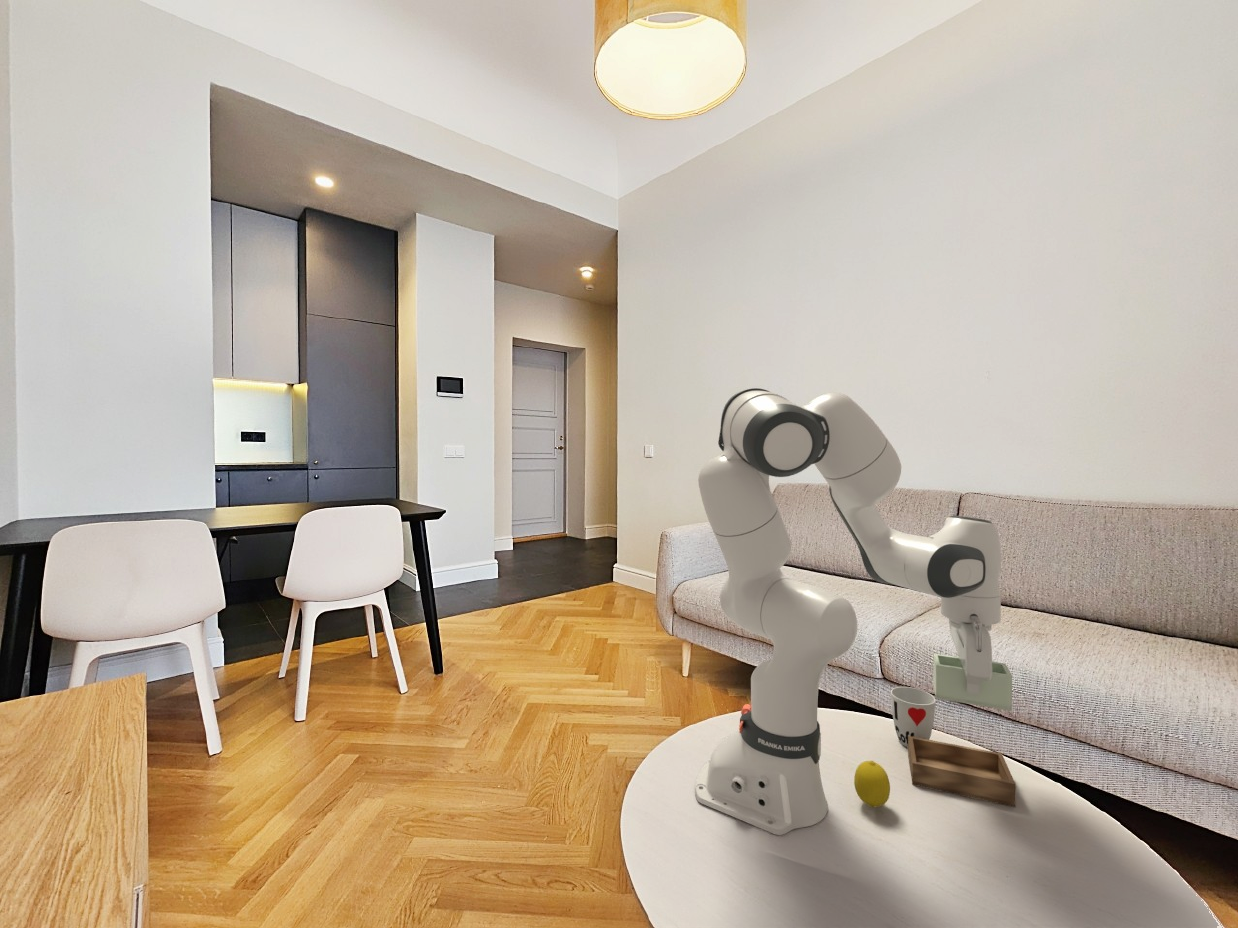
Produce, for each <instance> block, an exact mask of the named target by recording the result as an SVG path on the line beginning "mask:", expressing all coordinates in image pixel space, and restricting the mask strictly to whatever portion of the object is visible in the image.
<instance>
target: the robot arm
mask: <svg viewBox="0 0 1238 928" xmlns="http://www.w3.org/2000/svg"><path fill="white" fill-rule="evenodd" d="M719 430H720V431H719V437H718V447H719V448H720V450H721V451H722V452H721V453H720V454H719V455H717V456H715V457H712V458H711V459H710V460H709V461H707V462H706V463H705V464H704V465H703V466H702V468H701V469H700V471H699V473H698V477H697V479H698V481H697V482H698V487H699V493H700V497H701V501H702V504H703V508H704V511H705V514H706V517H707V519H708V522H709V525H710V527H711V530H712V532H713V534H714V536H715V538H716V542H717V543H718V546H719V548H720V550H721V553H722V555H723V558H724V560H725V562H726V567H727V569H728V577H727V578H726V580H725V581H724V583H723V585H722V588H721V590H720V597H719V600H720V608H721V611H722V612H723V614H724V615H725V617H726V618H727V619H729V620H730V621H732V622H733V623H734V624H735V625H736V626H739V627H740V628H741V629H743V630H744V631H746V632H749V633H752V634H754V635H756V636H760V637H762V638H765V639H767V640H769V641H771V642H772V645H773V652H772V657H771V658H770V659H767V660H765V661H762V662H761V663H760V664H758V666H756V667H755V668H754V670H753V672H752V674H751V677H750V704H749V703H746V704H744V705H743V706H742V709H741V711H740V715H741V716H740V718H739V724H738V727H739V728H738V731H736V732H735V733H732V734H730V735H729V736H726V737H724V738H722V739H721V740H720V741H719V742H718V743H717V744H716V746H715V748H714V749H713V751H712V754H711V755H710V759H709V760H708V761H707V762H706V763H704V765H702V767H701V769H700V771H699V772H698V774H697V777H696V780H695V785H694V786H695V787H694V794H695V798H696V800H697V802H699V803H700V804H702V805H704V806H707V807H708V808H711V809H714V810H717V812H720V813H723V814H725V815H728V816H731V817H733V818H736V819H737V820H740V821H743V822H745V823H747V824H749V825H751V826H755V827H757V828H759V829H761V830H764V831H766V832H769V833H771V834H773V835H776V836H783V835H784V834H788V833H789V832H790V831H793V830H794V829H798V828H805V827H810V826H814V825H816V824H818V823H819V822H821V821H822V820H823V819H824V818H825V817H826V815H827V813H828V810H829V805H828V802H827V798H826V795H825V790H824V787H823V782H822V776H821V769H820V758H821V755H822V754H821V753H822V749H821V747H822V736H821V735H822V733H821V726H820V723H819V720H818V706H819V705H818V703H819V702H818V698H819V697H818V696H819V687H820V681H821V678H822V675H823V673H824V670H825V669H826V667H827V666H828V664H830V663H831V662H832V661H833V660H835V659H837V658H839V657H841V656H843V655H844V654H845V653H847V652H848V651H849V650H850V648H852V646H853V644H854V642H855V640H856V637H857V633H858V618H857V615H856V612H855V609H854V607H853V605H852V604H851V602H850V601H849V600H847V599H846V598H844V597H842V596H840V595H838V594H836V593H834V592H832V590H831V591H830V590H829V589H826V588H824V587H822V586H819V585H813V584H810V583H806V582H803V581H798V580H795V579H791V578H789V577H788V576H786V575H785V574H784V573H783V572H782V570H781V568H782V567H784V565H785V564H786V563H787V561H788V559H789V557H790V554H791V551H792V540H791V539H790V535H789V533H788V530H787V528H786V525H785V522H784V521H783V520H784V519H783V518H782V515H781V513H780V510H779V508H778V505H777V502H776V500H775V498H774V496H773V493H772V492H771V485H770V476H771V477H775V478H785V477H787V478H788V477H791V476H794V475H797V474H800V473H801V472H802V471H805V470H806V469H808V468H809V467H810V466H812V465H813V464H814V465H815V467H816V469H817V470H818V471H819V473H820V474H821V475H822V477H823V478H824V480H825V481H826V482H827V484H828V485H829V487H828V491H829V492H828V493H829V495H830V499H831V501H832V503H833V505H834V507H835V509H836V512H837V513H838V515H839V517H840V518H841V520H842V521H843V523H844V524H845V526H846V528H847V530H848V531H849V533H850V534H851V536H852V538H853V540H854V541H855V543H856V545H857V547H858V550H859V553H860V556H861V560H862V564H863V566H864V569H865V571H866V572H867V574H868V575H869V576H870V577H871V578H872V579H873V580H874V581H876V582H878V583H882V584H886V585H893V586H899V587H902V588H905V589H909V590H912V591H916V592H918V593H922V594H927V595H930V596H932V597H937V598H940V613H941V615H942V616H943V617H945V618H947V619H948V624H949V631H950V637H951V641H952V642H953V645H954V648H955V651H956V653H957V655H958V656H957V657H959V659H960V661H961V664H962V667H963V669H964V672H965V675H966V677H967V680H966V689H967V692H968V693H969V694H974V695H978V694H979V693H980V683H981V680H986V681H989V680H991V678H992V662H993V648H992V639H991V634H990V631H992V627H993V626H992V625H996V624H1000V622H1001V620H1002V619H1001V618H1002V616H1001V615H1002V614H1001V610H1002V607H1001V603H1002V601H1001V600H1002V599H1001V598H1002V593H1001V588H1000V586H999V577H1000V573H1001V571H1002V556H1001V555H1002V550H1001V541H1000V540H1001V539H1000V535H999V531H998V528H997V526H996V524H994V523H993V522H992V521H990V520H987V519H982V518H977V517H970V516H963V515H962V516H961V515H951V516H950V515H949V516H948V517H947V516H946V519H945V521H944V525H943V527H942V528H941V529H940V530H939V531H937V532H935V533H934V534H932V535H929V536H923V535H916V534H913V533H912V534H910V533H907V532H903V531H900V530H897V529H895V528H892V527H890V526H889V525H888V524H886V522H885V521H884V518H883V517H882V515H881V513H880V511H879V510H878V508H877V506H876V505H877V504H878V503H880V502H881V501H883V500H884V499H885V498H887V497H888V496H889V495H890V494H891V493H892V492H893V491H894V489H895V488H896V487H897V485H898V483H899V481H900V478H901V475H902V474H901V473H902V464H901V460H900V458H899V455H898V453H897V450H895V448H894V446H893V445H892V443H891V442H890V441H889V440H888V438H887V437H886V435H885V434H884V433H883V431H882V429H880V427H879V426H878V424H877V423H876V422H875V420H873V419H872V418H871V416H869V414H868V413H867V412H866V411H865V410H864V409H863V408H862V407H861V406H860V405H858V404H857V403H856V402H855V401H854V400H853V398H851V397H850V396H848V395H846V394H845V393H841V392H829V393H824V394H821V395H818V396H817V397H815V398H813V399H812V400H810V401H809V402H807V404H804V405H802V406H800V405H797V404H796V403H794V402H792V401H790V400H788V398H786V397H784V396H782V395H780V394H778V393H775V392H772V391H769V390H767V389H763V388H757V387H756V388H755V387H754V388H753V387H752V388H747V389H743V390H740V391H738V392H736V393H735V394H733V395H732V396H731V397H730V398H729V399H728V401H727V402H726V403H725V405H724V407H723V409H722V414H721V419H720V429H719Z"/></svg>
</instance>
